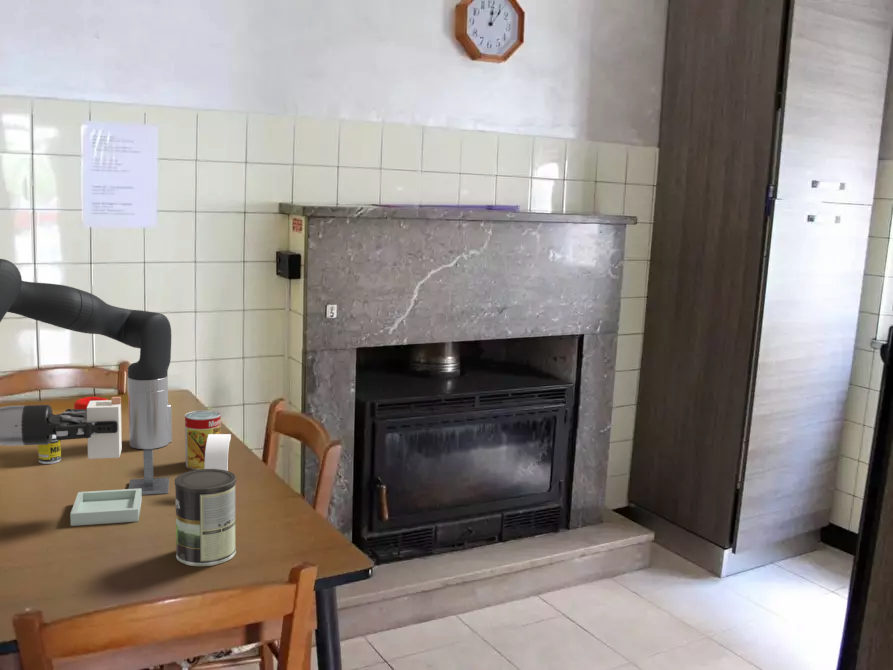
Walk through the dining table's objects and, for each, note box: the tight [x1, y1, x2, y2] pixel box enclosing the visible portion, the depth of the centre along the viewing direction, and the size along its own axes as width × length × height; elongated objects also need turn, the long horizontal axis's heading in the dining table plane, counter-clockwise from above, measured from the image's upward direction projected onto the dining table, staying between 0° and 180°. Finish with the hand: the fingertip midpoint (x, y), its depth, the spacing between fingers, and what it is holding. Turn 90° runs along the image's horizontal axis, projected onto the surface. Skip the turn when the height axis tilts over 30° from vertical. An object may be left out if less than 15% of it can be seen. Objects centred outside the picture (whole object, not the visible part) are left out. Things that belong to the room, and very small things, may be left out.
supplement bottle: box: [37, 435, 62, 465], centre depth 198 cm, size 5×5×8 cm
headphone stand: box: [205, 433, 232, 471], centre depth 182 cm, size 5×6×12 cm
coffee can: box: [174, 469, 237, 568], centre depth 151 cm, size 10×10×14 cm
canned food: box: [184, 409, 222, 471], centre depth 199 cm, size 8×8×12 cm
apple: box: [73, 396, 109, 409], centre depth 226 cm, size 9×9×8 cm
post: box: [127, 449, 170, 496], centre depth 183 cm, size 8×8×8 cm
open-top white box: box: [87, 396, 123, 460], centre depth 167 cm, size 6×6×11 cm
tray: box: [69, 488, 143, 527], centre depth 170 cm, size 12×12×2 cm
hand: (118, 422), depth 168 cm, fingers closed on open-top white box, 5 cm apart
